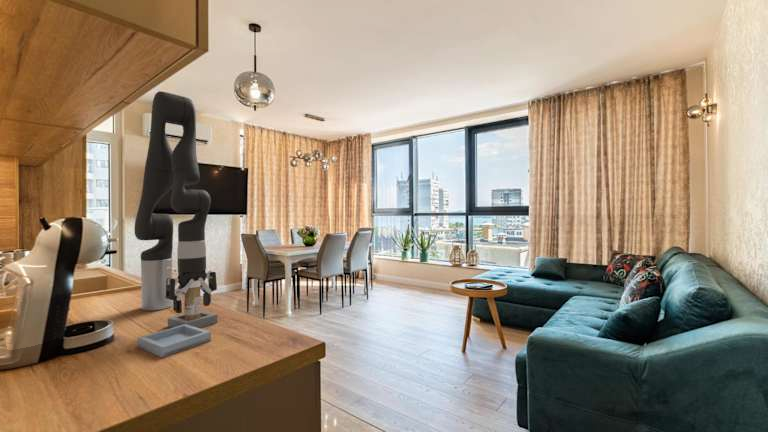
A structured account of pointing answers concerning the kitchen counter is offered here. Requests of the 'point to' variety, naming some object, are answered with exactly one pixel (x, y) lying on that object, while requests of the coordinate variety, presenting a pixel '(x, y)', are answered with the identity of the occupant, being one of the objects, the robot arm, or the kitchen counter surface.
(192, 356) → the kitchen counter surface
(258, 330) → the kitchen counter surface
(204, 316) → the holder
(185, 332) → the tray
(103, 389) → the kitchen counter surface
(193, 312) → the sprinkles bottle
